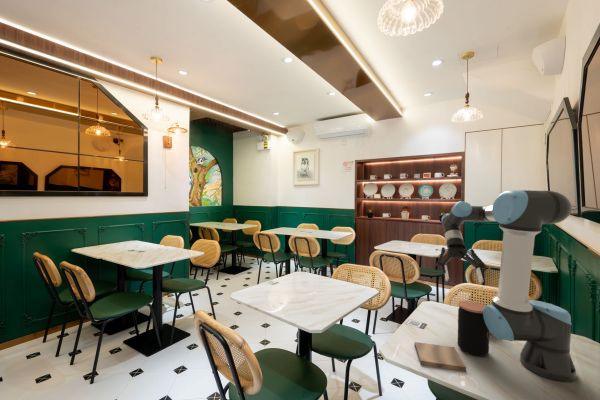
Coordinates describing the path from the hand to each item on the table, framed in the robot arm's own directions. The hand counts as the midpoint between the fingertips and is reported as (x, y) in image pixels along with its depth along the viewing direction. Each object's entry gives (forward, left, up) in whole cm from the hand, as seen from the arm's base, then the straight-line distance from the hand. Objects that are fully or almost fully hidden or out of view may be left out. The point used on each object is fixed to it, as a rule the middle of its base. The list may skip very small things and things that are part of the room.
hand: (464, 281), depth 121 cm
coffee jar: (0, +11, -25) cm, 27 cm away
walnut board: (+15, +20, -25) cm, 35 cm away
